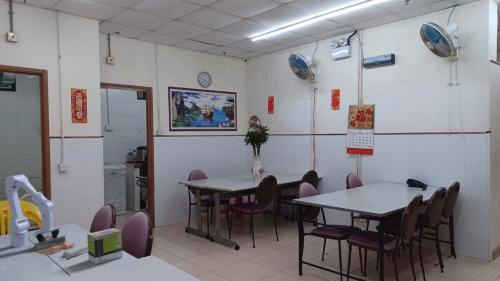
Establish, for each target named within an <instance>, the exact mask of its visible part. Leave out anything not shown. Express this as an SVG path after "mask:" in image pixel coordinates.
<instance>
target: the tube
mask: <svg viewBox="0 0 500 281" xmlns="http://www.w3.org/2000/svg"><path fill="white" fill-rule="evenodd" d="M85 253H88V241H86V242H84V243H81V244H79V245H77V246H73V247H72V248H68V249H65V250H64V252H63V253H62V257H63V258H64V260H70V259H73V258H75V257H77V256H80V255H83V254H85Z"/></svg>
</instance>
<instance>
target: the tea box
mask: <svg viewBox="0 0 500 281" xmlns="http://www.w3.org/2000/svg"><path fill="white" fill-rule="evenodd" d="M86 236H87V238H86V239H87V242H88V250H87V256H88V261H90V262H91V263H92V264H94V265H97V264H101V263H105V262H108V261H111V260H115V259H119V258H123V257H124V256H123V255H124V254H123V239H122V231H121V230H120V229H117V228H114V227H112V228H108V229H103V230H100V231H94V232H90V233H87V234H86Z"/></svg>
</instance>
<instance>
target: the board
mask: <svg viewBox="0 0 500 281" xmlns="http://www.w3.org/2000/svg"><path fill="white" fill-rule="evenodd" d="M73 244H74V245H73V246H75V245H77V244H76V243H73ZM56 246H61V250H62V249H64V248H63V244H60V245H56ZM53 247H55V246H53ZM25 251H29V252H32V253H36V254H40V255H46V254H50V253H51V247H49V248H46V249H43V250H39V251H35V246H33V247H29V248H27V249H25Z"/></svg>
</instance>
